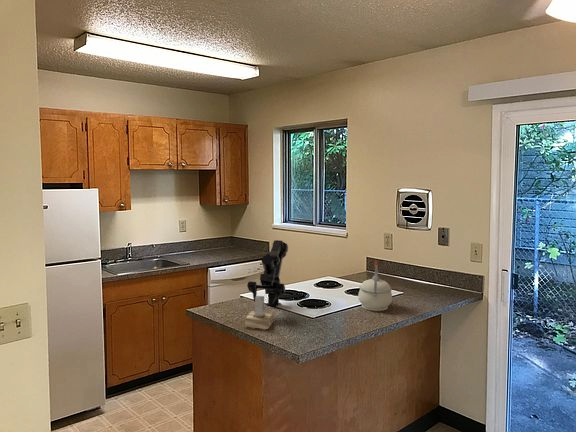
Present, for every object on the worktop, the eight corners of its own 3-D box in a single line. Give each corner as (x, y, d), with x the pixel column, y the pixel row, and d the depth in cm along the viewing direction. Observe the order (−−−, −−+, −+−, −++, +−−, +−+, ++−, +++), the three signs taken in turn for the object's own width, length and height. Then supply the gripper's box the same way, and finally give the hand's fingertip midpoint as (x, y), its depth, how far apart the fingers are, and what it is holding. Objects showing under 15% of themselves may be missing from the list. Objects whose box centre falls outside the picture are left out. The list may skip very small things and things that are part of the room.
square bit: (256, 322, 226) (256, 295, 225) (263, 322, 226) (264, 296, 224) (254, 324, 223) (255, 297, 222) (262, 325, 222) (262, 298, 221)
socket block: (251, 320, 231) (251, 311, 230) (272, 322, 229) (273, 313, 228) (245, 327, 220) (245, 318, 220) (267, 329, 218) (268, 320, 218)
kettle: (392, 314, 245) (394, 267, 242) (356, 311, 249) (358, 265, 246) (391, 301, 269) (393, 258, 267) (359, 298, 273) (360, 256, 270)
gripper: (248, 265, 237) (242, 292, 227) (284, 268, 233) (279, 295, 224) (252, 277, 245) (246, 304, 236) (287, 279, 242) (282, 306, 232)
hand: (263, 302), depth 232 cm, fingers open, 9 cm apart
